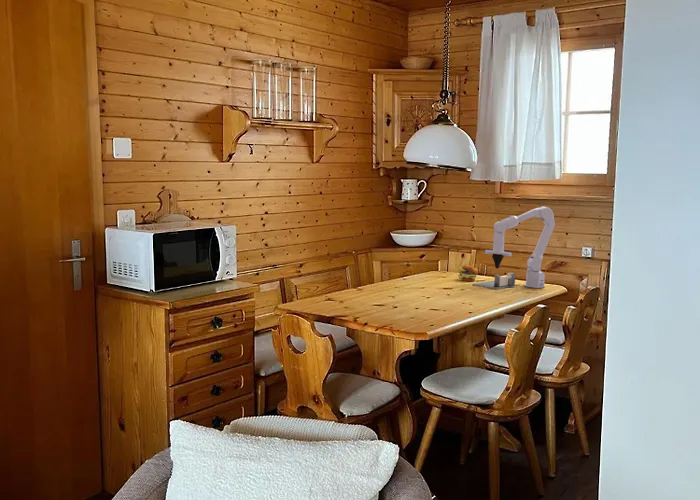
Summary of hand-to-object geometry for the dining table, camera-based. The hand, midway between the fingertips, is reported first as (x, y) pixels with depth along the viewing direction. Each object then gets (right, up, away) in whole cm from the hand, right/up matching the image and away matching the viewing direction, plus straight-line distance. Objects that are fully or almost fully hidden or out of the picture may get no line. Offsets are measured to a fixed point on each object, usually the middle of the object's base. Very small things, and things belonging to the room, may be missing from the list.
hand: (497, 268), depth 384 cm
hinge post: (-2, -11, -8) cm, 14 cm away
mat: (-2, -10, -1) cm, 10 cm away
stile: (+7, -9, -2) cm, 12 cm away
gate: (+3, -9, -4) cm, 11 cm away
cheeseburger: (-14, -8, +13) cm, 21 cm away
